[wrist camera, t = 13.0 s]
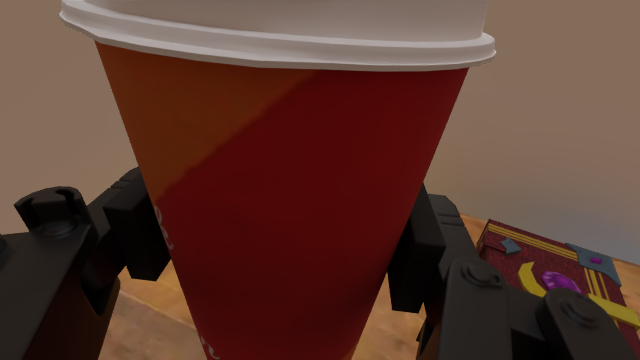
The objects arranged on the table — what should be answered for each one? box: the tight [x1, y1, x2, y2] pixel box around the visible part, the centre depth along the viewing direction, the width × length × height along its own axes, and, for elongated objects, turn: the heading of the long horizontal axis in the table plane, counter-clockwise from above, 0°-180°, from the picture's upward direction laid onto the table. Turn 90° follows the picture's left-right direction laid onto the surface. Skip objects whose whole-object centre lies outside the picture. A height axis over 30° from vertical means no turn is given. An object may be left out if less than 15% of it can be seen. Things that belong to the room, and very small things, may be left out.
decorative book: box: [476, 219, 640, 360], centre depth 27 cm, size 11×16×5 cm
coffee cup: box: [59, 0, 496, 360], centre depth 10 cm, size 8×8×15 cm
